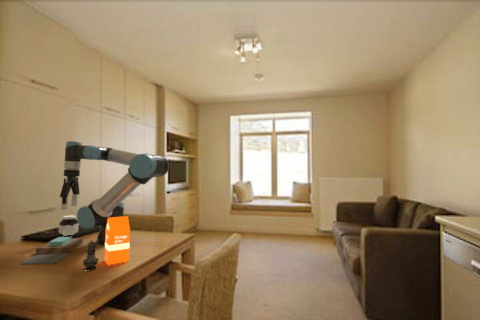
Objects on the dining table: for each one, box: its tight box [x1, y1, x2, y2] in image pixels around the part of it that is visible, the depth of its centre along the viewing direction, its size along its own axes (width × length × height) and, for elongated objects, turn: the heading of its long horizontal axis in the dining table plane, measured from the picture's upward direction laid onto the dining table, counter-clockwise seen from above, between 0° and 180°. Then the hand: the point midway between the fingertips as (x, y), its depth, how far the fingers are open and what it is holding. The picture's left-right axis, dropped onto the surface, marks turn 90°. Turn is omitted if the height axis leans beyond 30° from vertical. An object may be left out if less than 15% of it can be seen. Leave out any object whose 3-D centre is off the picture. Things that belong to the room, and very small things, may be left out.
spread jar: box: [58, 214, 79, 237], centre depth 168 cm, size 12×11×12 cm
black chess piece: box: [82, 239, 99, 272], centre depth 114 cm, size 6×6×12 cm
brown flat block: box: [35, 237, 84, 255], centre depth 141 cm, size 14×18×3 cm
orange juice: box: [104, 215, 131, 266], centre depth 125 cm, size 8×9×20 cm
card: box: [48, 236, 72, 246], centre depth 141 cm, size 6×10×2 cm, turn 10°
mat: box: [20, 252, 71, 266], centre depth 125 cm, size 14×14×1 cm
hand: (69, 207), depth 150 cm, fingers open, 13 cm apart
